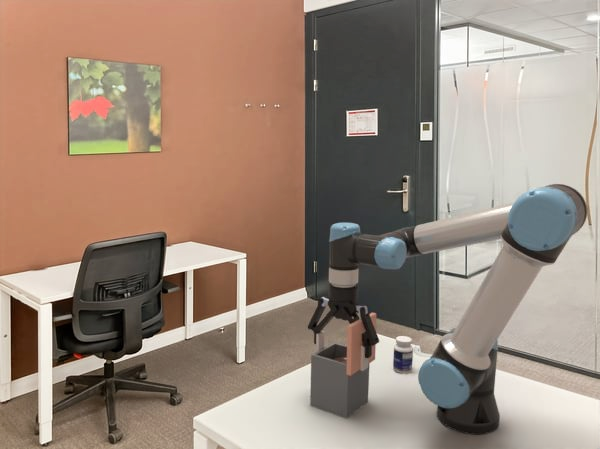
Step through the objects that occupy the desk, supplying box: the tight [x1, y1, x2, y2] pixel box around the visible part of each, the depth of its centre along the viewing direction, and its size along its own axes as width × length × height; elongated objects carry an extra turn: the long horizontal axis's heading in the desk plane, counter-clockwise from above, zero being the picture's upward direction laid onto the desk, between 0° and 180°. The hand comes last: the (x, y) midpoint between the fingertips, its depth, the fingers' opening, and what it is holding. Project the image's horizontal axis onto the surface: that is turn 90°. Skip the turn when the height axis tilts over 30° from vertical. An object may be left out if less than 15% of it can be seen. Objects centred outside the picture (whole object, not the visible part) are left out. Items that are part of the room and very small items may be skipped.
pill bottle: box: [392, 335, 414, 374], centre depth 170 cm, size 6×6×10 cm
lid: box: [346, 312, 377, 376], centre depth 143 cm, size 13×13×2 cm
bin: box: [309, 342, 370, 419], centre depth 148 cm, size 11×11×14 cm
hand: (341, 362), depth 147 cm, fingers open, 13 cm apart
